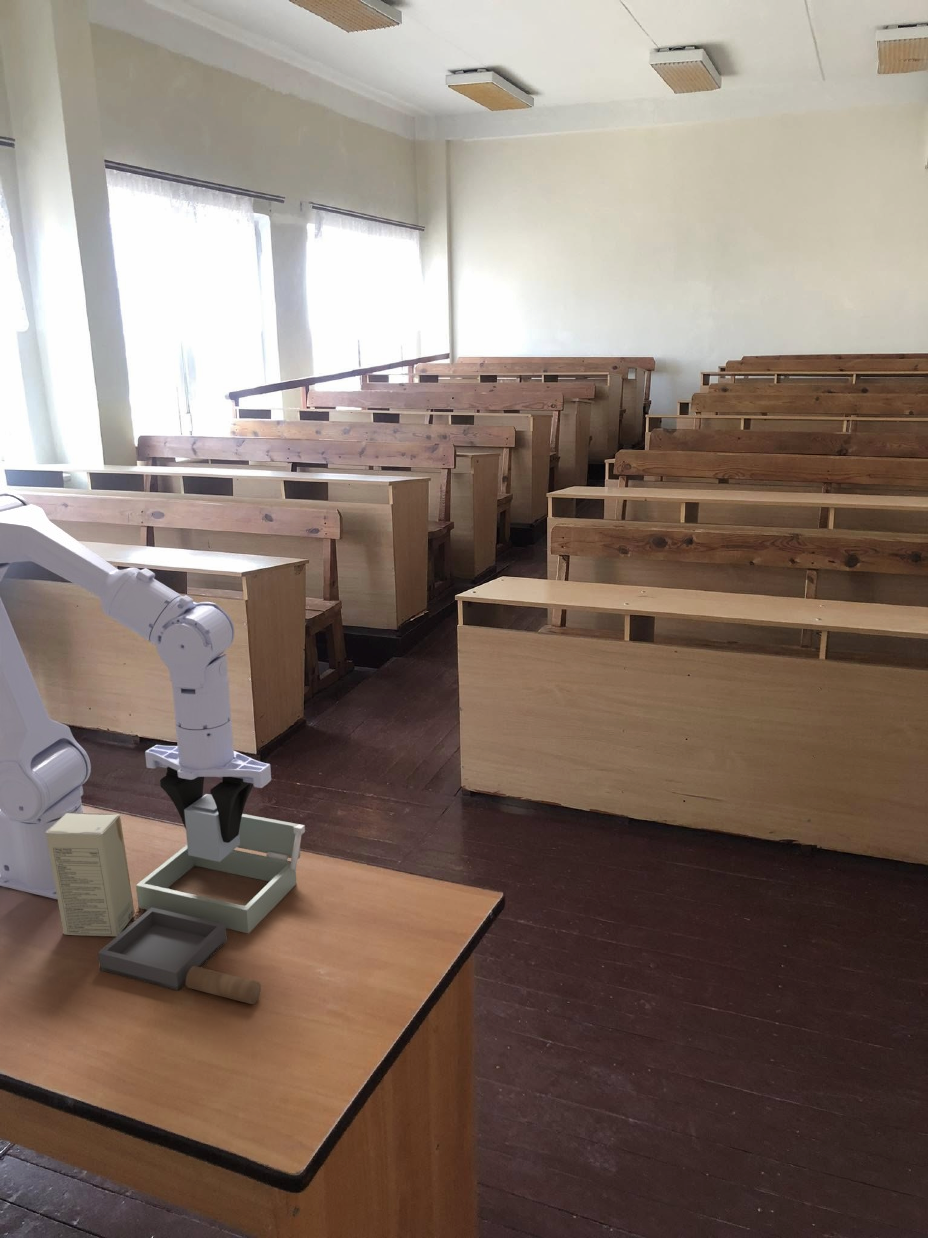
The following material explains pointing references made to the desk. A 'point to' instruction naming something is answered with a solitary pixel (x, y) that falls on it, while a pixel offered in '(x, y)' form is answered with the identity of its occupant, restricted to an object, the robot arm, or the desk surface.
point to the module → (206, 831)
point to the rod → (223, 985)
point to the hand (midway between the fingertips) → (213, 834)
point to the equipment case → (274, 867)
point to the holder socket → (162, 947)
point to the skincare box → (91, 874)
